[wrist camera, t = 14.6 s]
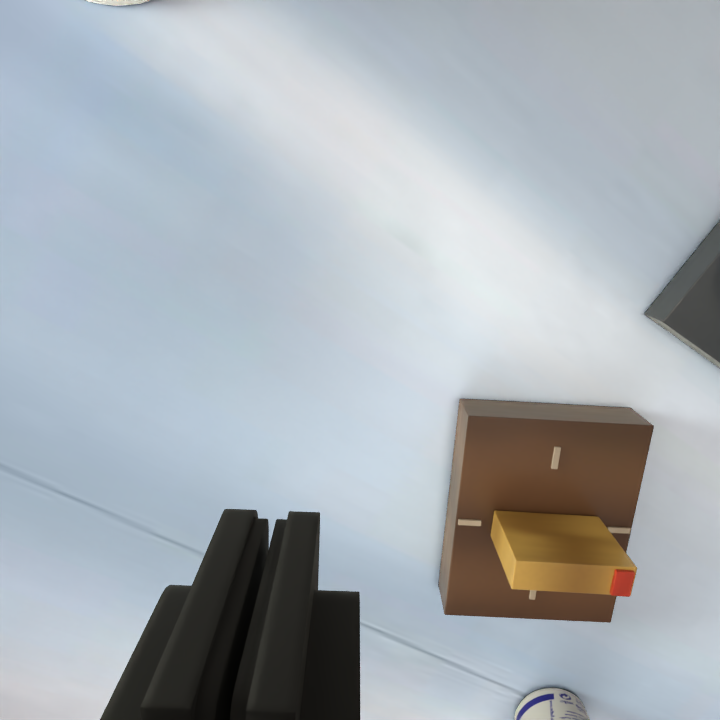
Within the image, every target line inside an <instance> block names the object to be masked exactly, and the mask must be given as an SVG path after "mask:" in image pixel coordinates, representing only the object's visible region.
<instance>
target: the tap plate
mask: <svg viewBox="0 0 720 720" xmlns="http://www.w3.org/2000/svg"><path fill="white" fill-rule="evenodd" d="M653 428H654V426H653V425H652V424H651V423H649V422H648V421H647V420H646V419H644V418H643V417H642V416H640V415H639V414H638V413H636V412H635V411H634V410H633V409H631V408H625V407H607V406H588V405H570V404H551V403H533V402H514V401H496V400H477V399H460V400H459V409H458V418H457V426H456V435H455V444H454V453H453V461H452V470H451V479H450V488H449V496H448V505H447V514H446V523H445V531H444V540H443V549H442V558H441V566H440V575H439V584H438V585H439V590H440V594H441V599H442V604H443V609H444V614H445V615H464V616H485V617H506V618H527V619H548V620H569V621H591V622H611V618H612V614H613V609H614V605H615V600H616V596H612V595H607V594H589V593H571V592H554V591H536V590H518V589H511V587H510V584H509V581H508V579H507V576H506V574H505V571H504V569H503V566H502V563H501V561H500V558H499V556H498V553H497V551H496V548H495V546H494V543H493V540H492V538H491V529H492V522H493V516H494V511H512V512H529V513H546V514H563V515H580V516H596V517H599V518H600V519H601V521H602V522H603V523H604V525H605V526H606V527H607V529H608V530H609V531H610V533H611V534H612V535H613V537H614V538H615V539H616V541H617V542H618V543H619V544H620V546H621V547H622V548H623V550H624V551H625V552H626V550H627V546H628V541H629V537H630V532H631V528H632V523H633V518H634V514H635V509H636V505H637V500H638V496H639V491H640V487H641V482H642V478H643V473H644V469H645V464H646V459H647V455H648V450H649V446H650V441H651V437H652V432H653Z"/></svg>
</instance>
